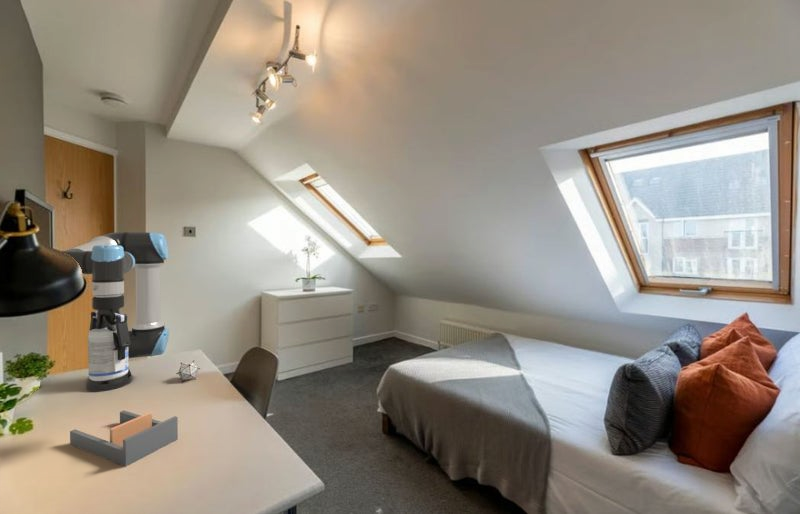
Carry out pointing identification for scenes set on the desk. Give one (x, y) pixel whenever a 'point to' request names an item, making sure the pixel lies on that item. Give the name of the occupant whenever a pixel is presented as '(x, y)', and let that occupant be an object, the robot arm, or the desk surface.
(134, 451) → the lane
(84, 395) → the desk surface
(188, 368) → the game die
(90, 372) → the supplement tub
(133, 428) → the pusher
